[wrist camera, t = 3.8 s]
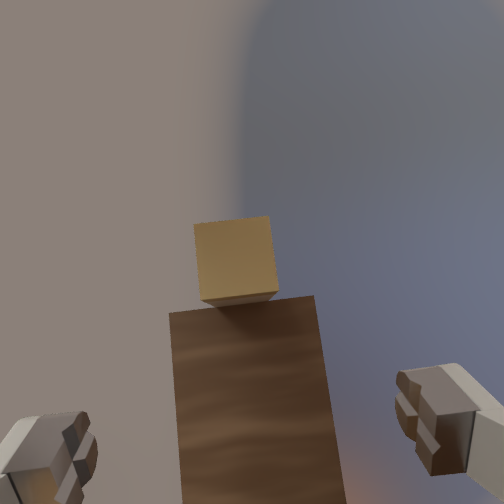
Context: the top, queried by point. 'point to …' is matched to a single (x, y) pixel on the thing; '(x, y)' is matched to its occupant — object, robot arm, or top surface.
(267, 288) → the cream tan bar
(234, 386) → the walnut post
